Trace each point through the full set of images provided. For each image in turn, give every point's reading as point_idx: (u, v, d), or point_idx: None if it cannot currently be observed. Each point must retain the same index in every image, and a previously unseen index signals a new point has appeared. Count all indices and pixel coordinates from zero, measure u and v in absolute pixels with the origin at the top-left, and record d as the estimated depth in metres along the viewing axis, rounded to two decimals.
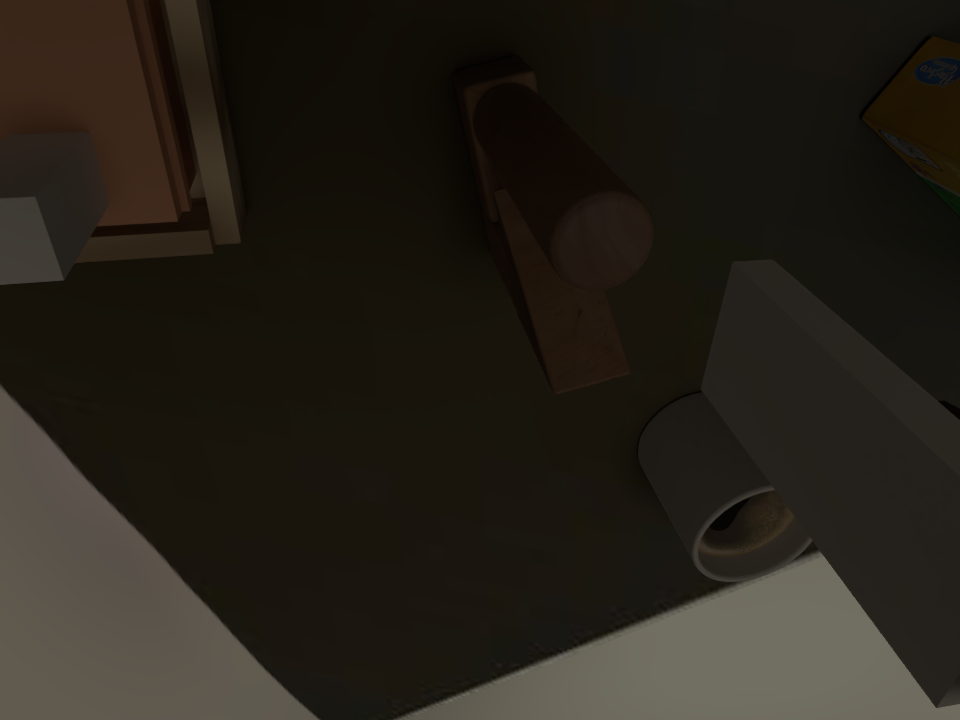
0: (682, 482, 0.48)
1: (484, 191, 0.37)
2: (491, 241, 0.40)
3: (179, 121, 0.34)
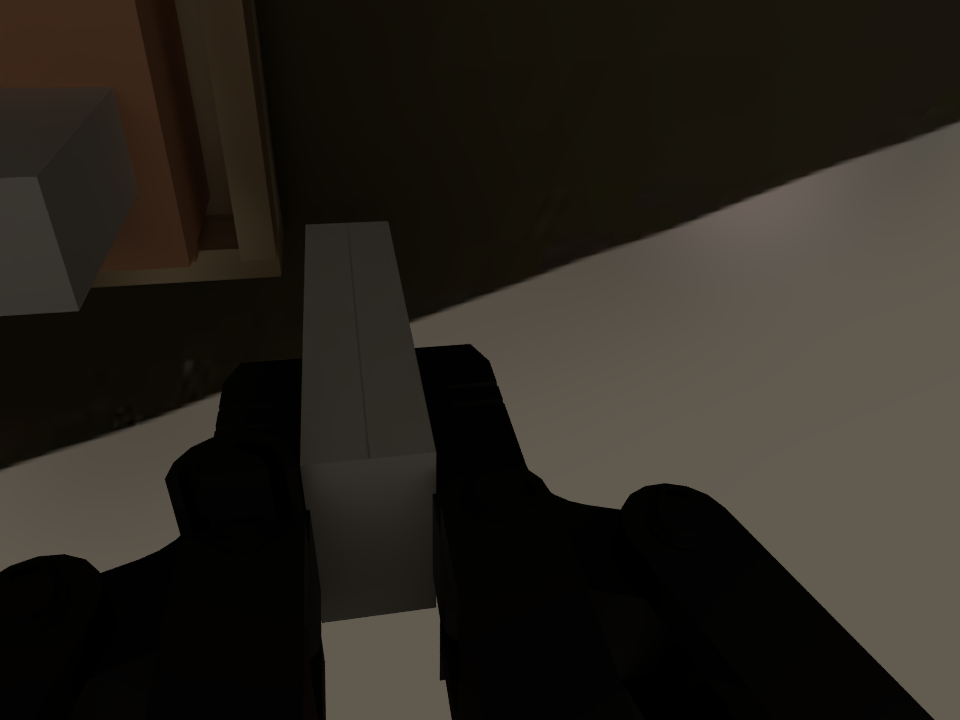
0: None
1: None
2: None
3: None
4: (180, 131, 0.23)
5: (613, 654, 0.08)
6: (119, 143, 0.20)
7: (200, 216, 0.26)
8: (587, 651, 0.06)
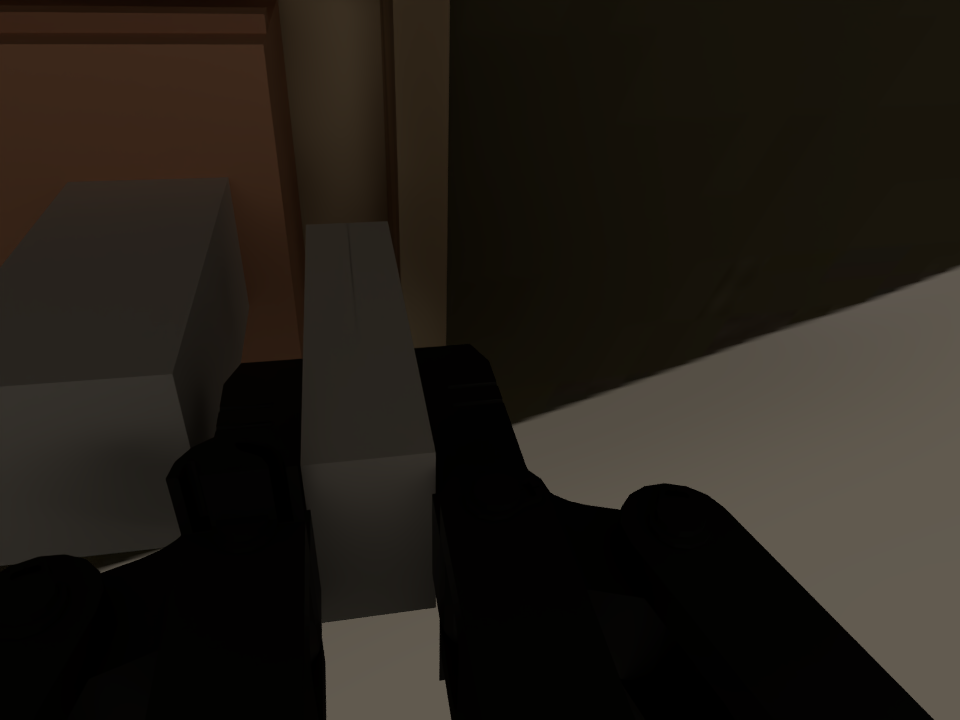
0: None
1: None
2: None
3: (142, 3, 0.17)
4: (293, 217, 0.18)
5: (613, 654, 0.08)
6: (234, 252, 0.15)
7: None
8: (586, 651, 0.06)
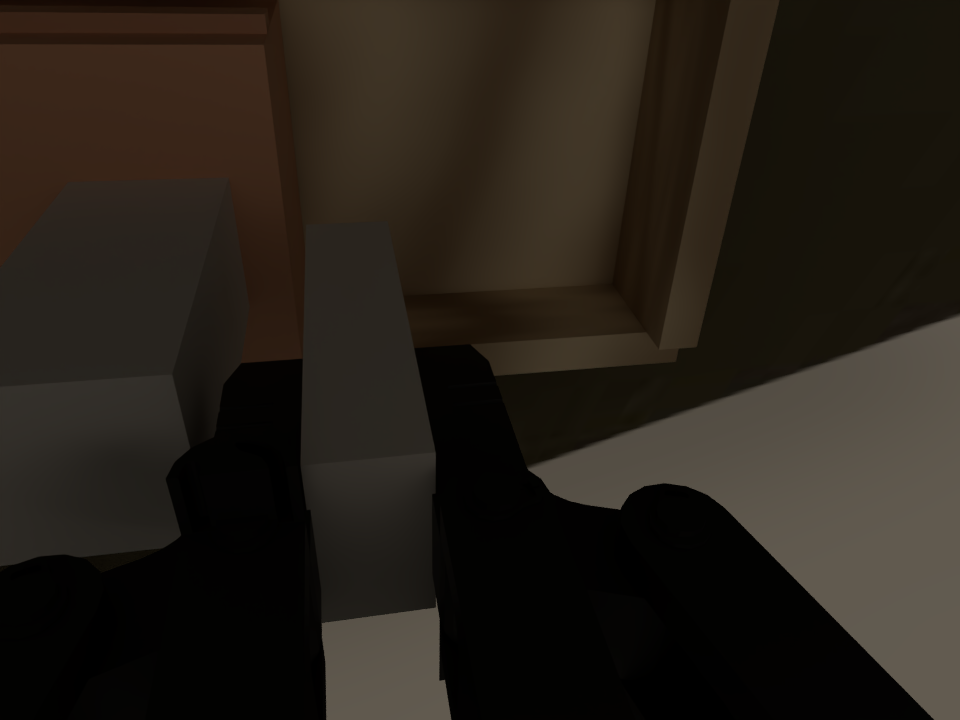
0: None
1: None
2: None
3: (143, 4, 0.17)
4: (294, 217, 0.18)
5: (613, 654, 0.08)
6: (235, 252, 0.15)
7: None
8: (587, 651, 0.06)
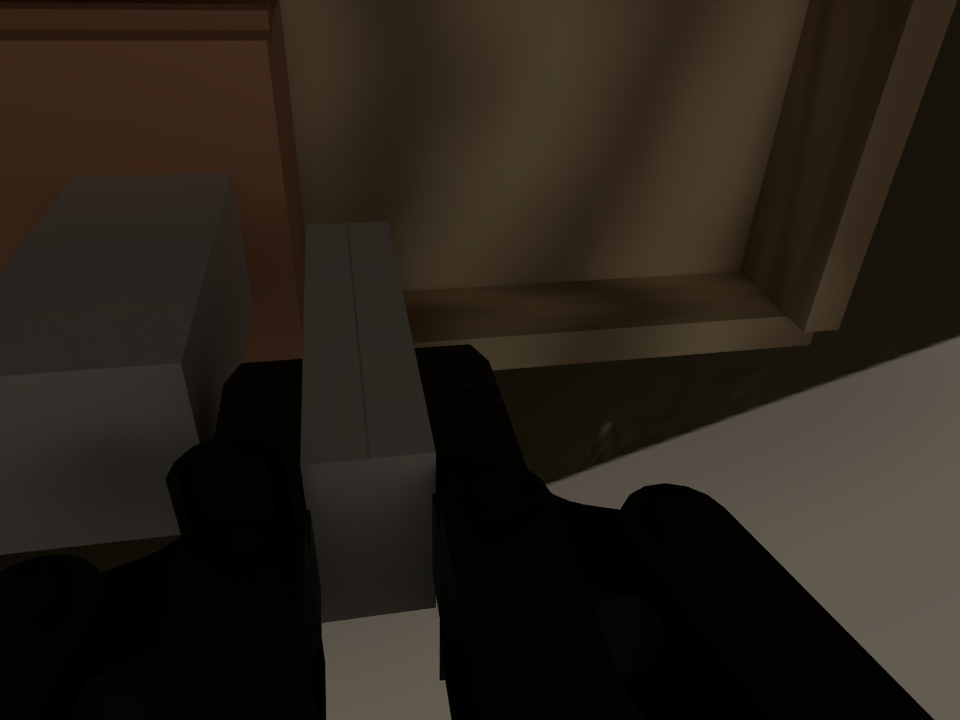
0: None
1: None
2: None
3: (146, 1, 0.17)
4: (295, 213, 0.18)
5: (613, 654, 0.08)
6: (238, 246, 0.15)
7: None
8: (587, 651, 0.06)
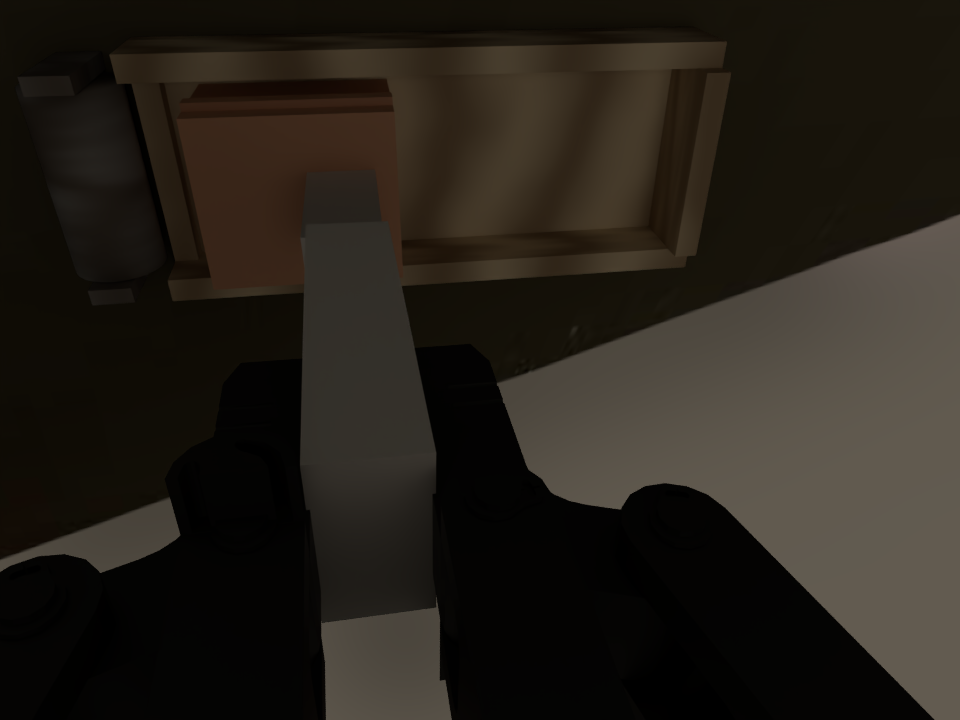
0: None
1: None
2: None
3: (326, 87, 0.35)
4: None
5: (613, 653, 0.08)
6: None
7: None
8: (587, 651, 0.06)
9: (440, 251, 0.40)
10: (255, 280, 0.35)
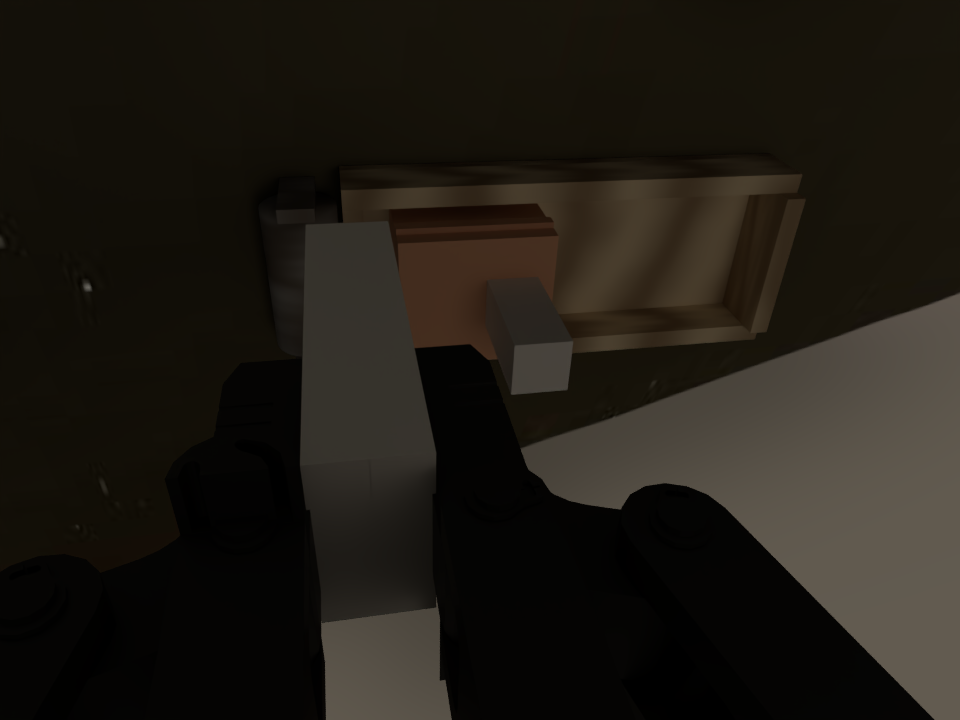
0: None
1: None
2: None
3: (490, 206, 0.44)
4: None
5: (613, 654, 0.08)
6: None
7: None
8: (587, 651, 0.06)
9: None
10: None
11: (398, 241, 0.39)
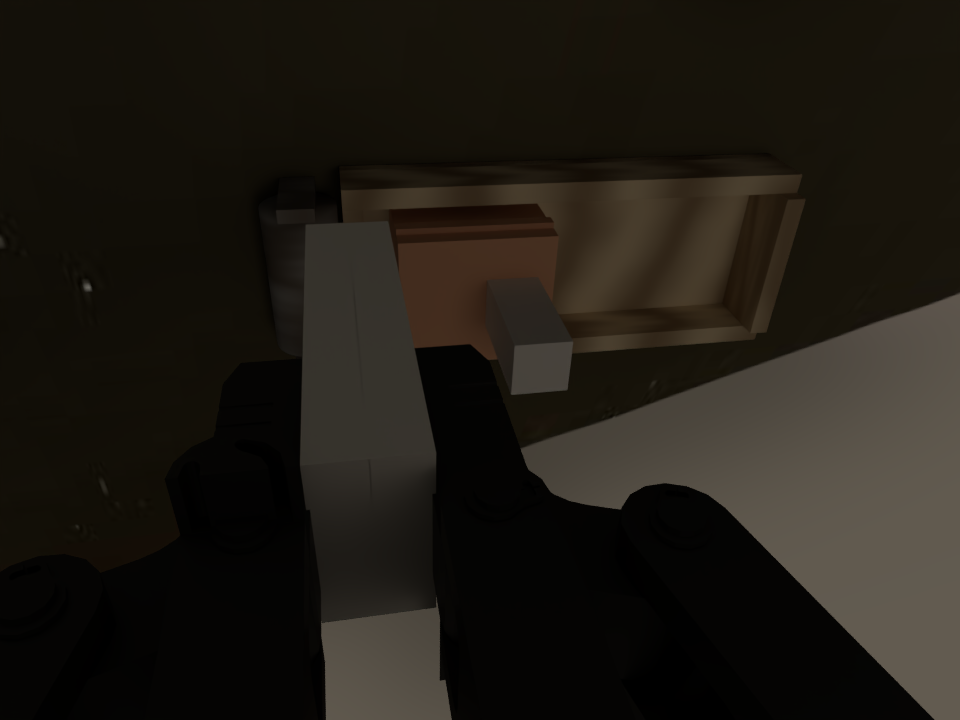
0: None
1: None
2: None
3: (490, 206, 0.44)
4: None
5: (613, 654, 0.08)
6: None
7: None
8: (587, 651, 0.06)
9: None
10: None
11: (398, 241, 0.39)
